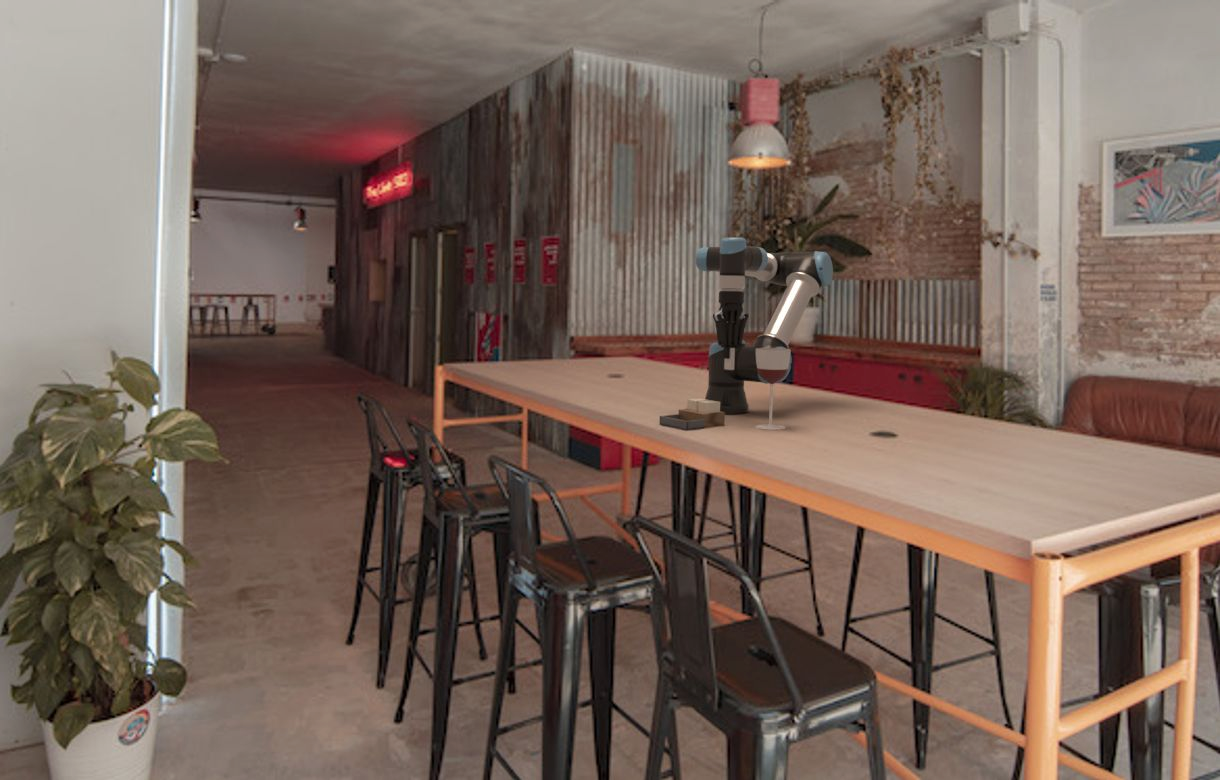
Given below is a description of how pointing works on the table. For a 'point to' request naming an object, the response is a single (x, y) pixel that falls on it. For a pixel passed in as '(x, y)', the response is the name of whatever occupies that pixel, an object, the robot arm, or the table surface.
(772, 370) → the wineglass
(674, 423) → the tray
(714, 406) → the beige block
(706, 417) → the board
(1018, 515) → the table surface
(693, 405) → the beige block
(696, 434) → the table surface
